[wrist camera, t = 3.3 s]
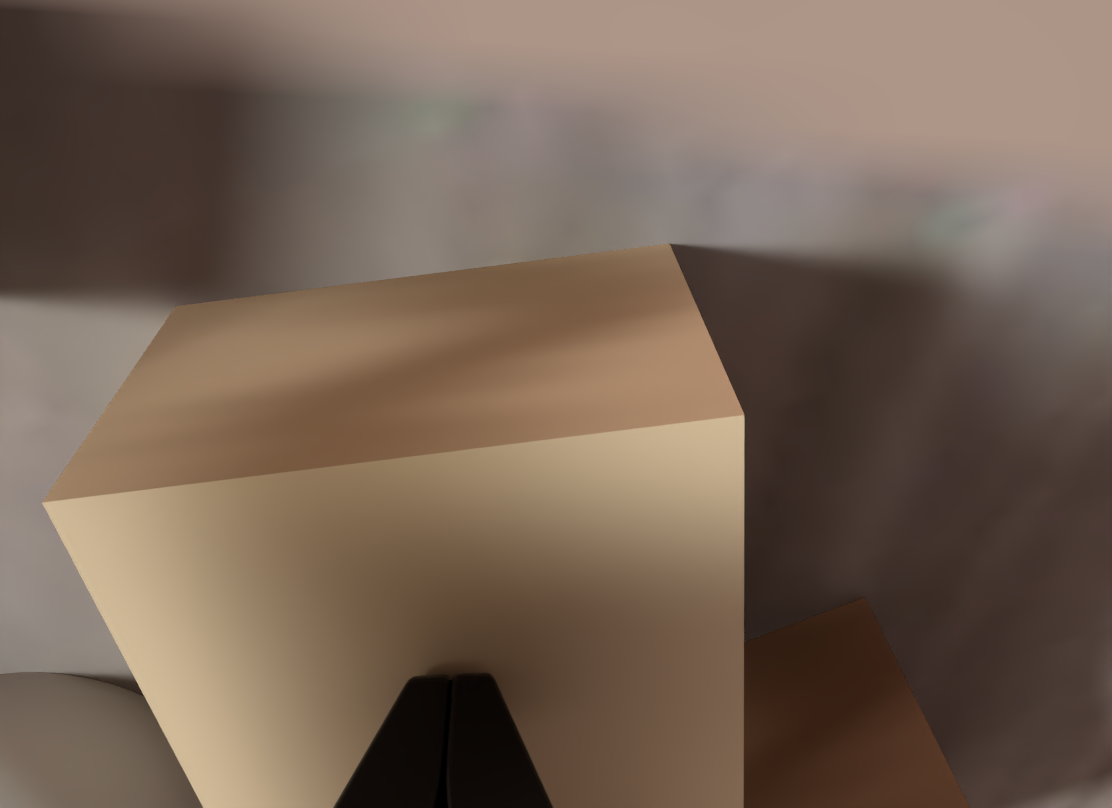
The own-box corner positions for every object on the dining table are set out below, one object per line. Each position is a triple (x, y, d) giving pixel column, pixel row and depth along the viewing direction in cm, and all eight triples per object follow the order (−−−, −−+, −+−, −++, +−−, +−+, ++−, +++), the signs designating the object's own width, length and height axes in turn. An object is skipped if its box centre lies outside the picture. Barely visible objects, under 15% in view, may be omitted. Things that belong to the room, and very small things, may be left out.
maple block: (667, 238, 11) (744, 415, 8) (683, 595, 14) (743, 832, 11) (180, 300, 11) (42, 502, 8) (306, 642, 14) (247, 891, 11)
